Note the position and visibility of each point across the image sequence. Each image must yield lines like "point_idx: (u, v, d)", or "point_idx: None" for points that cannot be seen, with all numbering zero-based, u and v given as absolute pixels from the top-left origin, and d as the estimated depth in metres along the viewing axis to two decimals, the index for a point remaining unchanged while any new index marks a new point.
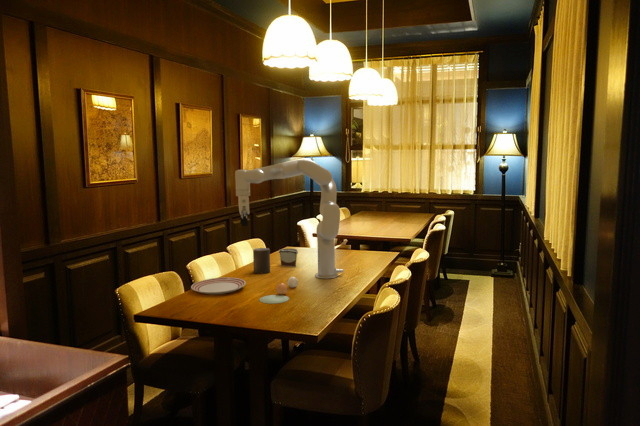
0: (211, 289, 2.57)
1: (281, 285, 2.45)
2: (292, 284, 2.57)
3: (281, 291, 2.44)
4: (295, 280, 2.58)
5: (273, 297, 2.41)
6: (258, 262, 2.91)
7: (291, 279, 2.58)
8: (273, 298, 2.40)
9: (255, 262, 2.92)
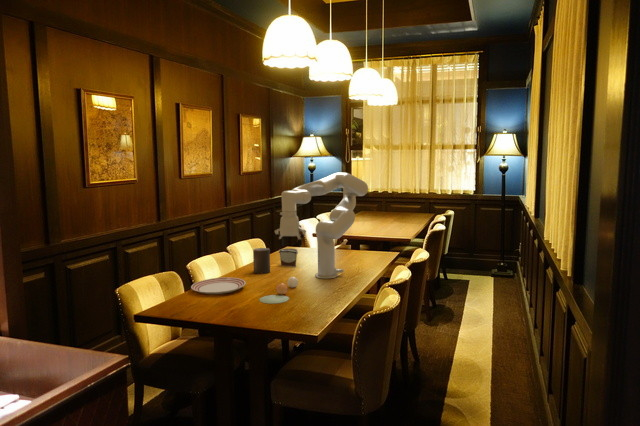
0: (211, 289, 2.57)
1: (281, 285, 2.45)
2: (292, 284, 2.57)
3: (281, 291, 2.44)
4: (295, 280, 2.58)
5: (273, 297, 2.41)
6: (258, 262, 2.91)
7: (291, 279, 2.58)
8: (273, 298, 2.40)
9: (255, 262, 2.92)
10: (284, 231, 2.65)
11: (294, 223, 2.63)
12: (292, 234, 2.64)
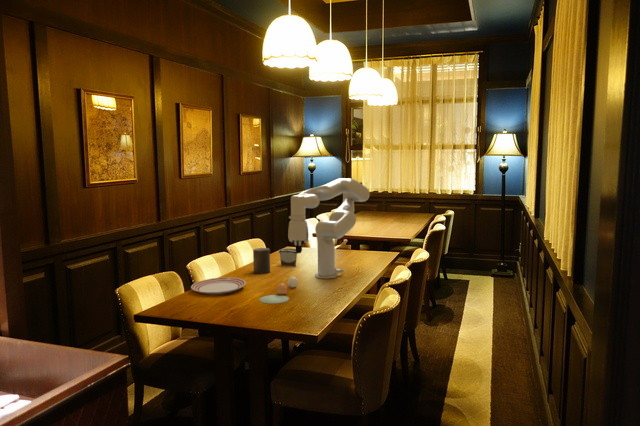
0: (211, 289, 2.57)
1: (281, 285, 2.45)
2: (292, 284, 2.57)
3: (281, 291, 2.44)
4: (295, 280, 2.58)
5: (273, 297, 2.41)
6: (258, 262, 2.91)
7: (291, 279, 2.58)
8: (273, 298, 2.40)
9: (255, 262, 2.92)
10: (292, 235, 2.64)
11: (302, 227, 2.62)
12: (300, 238, 2.63)
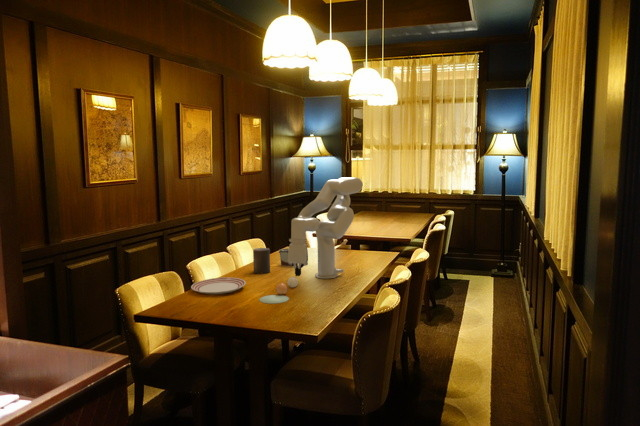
0: (211, 289, 2.57)
1: (281, 285, 2.45)
2: (292, 284, 2.57)
3: (281, 291, 2.44)
4: (295, 280, 2.58)
5: (273, 297, 2.41)
6: (258, 262, 2.91)
7: (291, 279, 2.58)
8: (273, 298, 2.40)
9: (255, 262, 2.92)
10: (292, 258, 2.65)
11: (302, 251, 2.63)
12: (299, 261, 2.64)
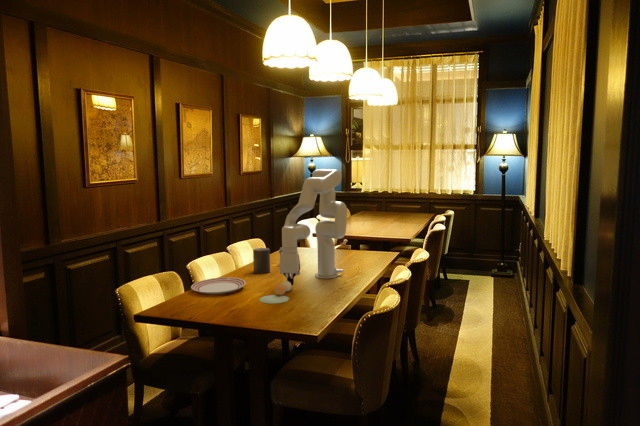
0: (211, 289, 2.57)
1: (279, 289, 2.43)
2: None
3: (280, 294, 2.44)
4: None
5: (273, 297, 2.41)
6: (258, 262, 2.91)
7: None
8: (273, 298, 2.40)
9: (255, 262, 2.92)
10: (283, 268, 2.54)
11: (294, 260, 2.52)
12: (291, 271, 2.53)
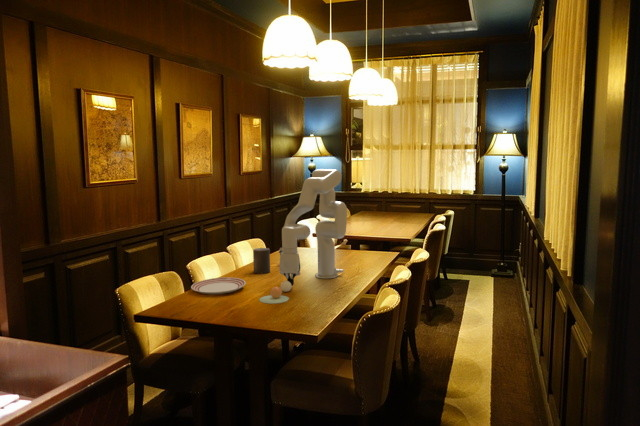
0: (211, 289, 2.57)
1: None
2: None
3: None
4: None
5: None
6: (258, 262, 2.91)
7: None
8: (273, 298, 2.40)
9: (255, 262, 2.92)
10: (283, 268, 2.54)
11: (294, 260, 2.52)
12: (291, 271, 2.53)
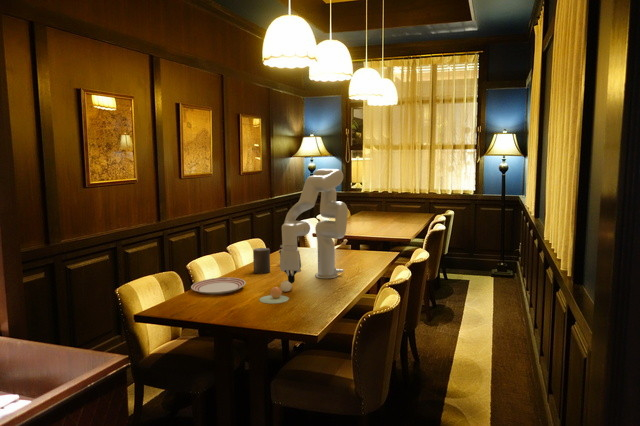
0: (211, 289, 2.57)
1: None
2: None
3: None
4: None
5: None
6: (258, 262, 2.91)
7: None
8: (273, 298, 2.40)
9: (255, 262, 2.92)
10: (284, 265, 2.55)
11: (294, 257, 2.52)
12: (292, 268, 2.53)
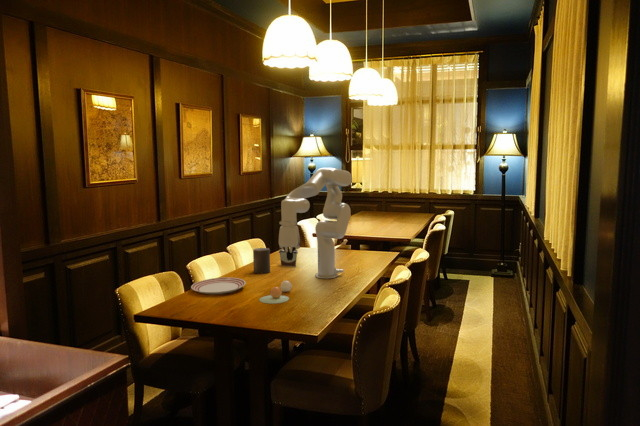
0: (211, 289, 2.57)
1: None
2: None
3: None
4: None
5: None
6: (258, 262, 2.91)
7: None
8: (273, 298, 2.40)
9: (255, 262, 2.92)
10: (283, 241, 2.53)
11: (293, 233, 2.51)
12: (291, 245, 2.52)
